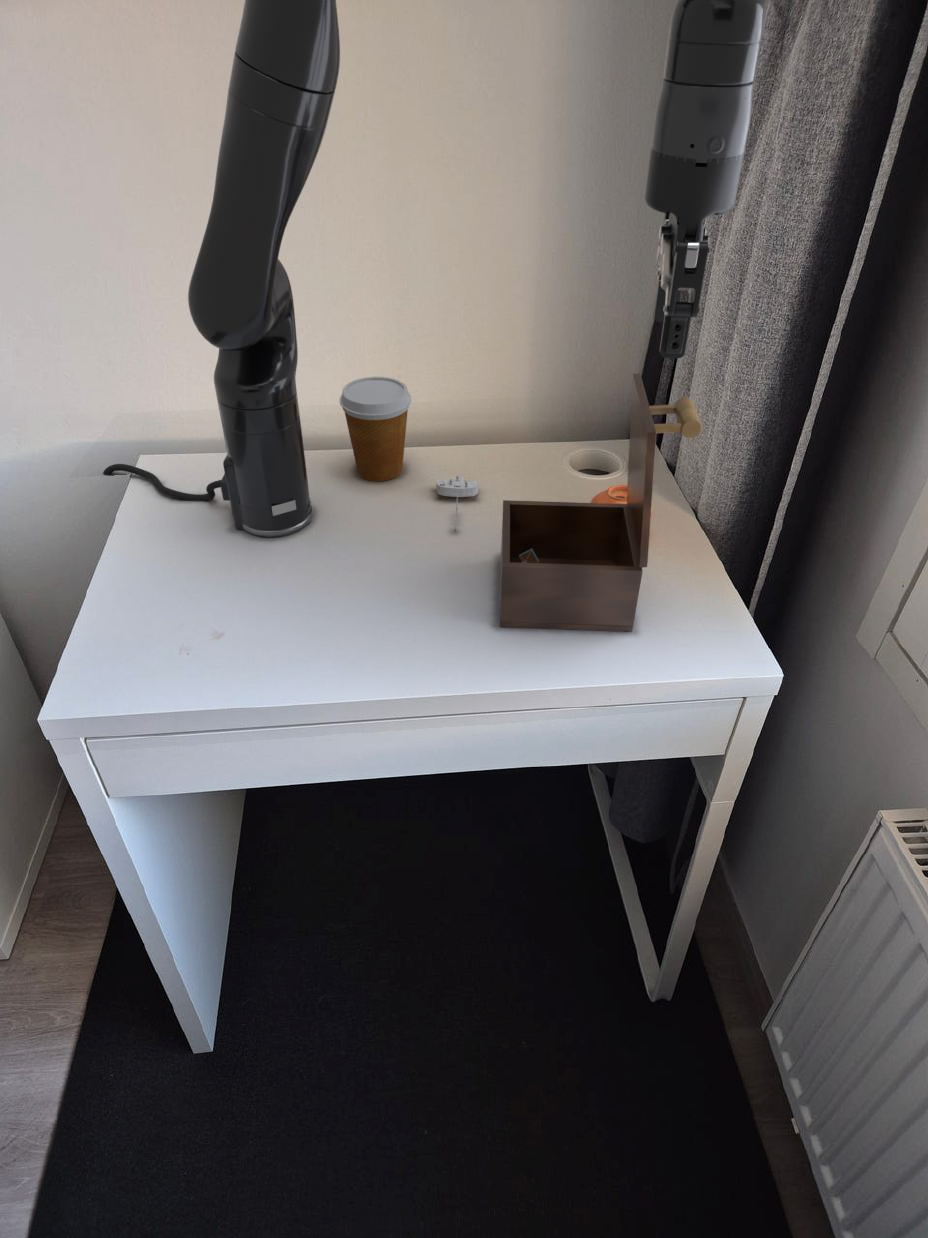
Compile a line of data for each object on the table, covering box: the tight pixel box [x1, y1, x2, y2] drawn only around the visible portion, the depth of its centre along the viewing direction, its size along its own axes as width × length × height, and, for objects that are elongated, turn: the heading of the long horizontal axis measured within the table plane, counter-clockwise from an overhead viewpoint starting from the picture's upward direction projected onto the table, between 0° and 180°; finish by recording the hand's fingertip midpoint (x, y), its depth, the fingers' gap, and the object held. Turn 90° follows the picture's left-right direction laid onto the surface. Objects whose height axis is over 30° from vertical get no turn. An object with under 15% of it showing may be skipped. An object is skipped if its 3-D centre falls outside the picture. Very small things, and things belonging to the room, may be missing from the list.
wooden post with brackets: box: [519, 549, 539, 563], centre depth 99 cm, size 2×8×4 cm
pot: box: [589, 484, 653, 518], centre depth 108 cm, size 8×8×7 cm
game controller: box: [436, 475, 480, 533], centre depth 114 cm, size 6×12×3 cm, turn 15°
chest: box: [498, 499, 644, 632], centre depth 98 cm, size 15×13×8 cm
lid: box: [626, 372, 703, 568], centre depth 90 cm, size 15×13×6 cm
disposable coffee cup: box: [339, 376, 412, 482], centre depth 118 cm, size 10×10×12 cm
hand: (668, 338), depth 81 cm, fingers open, 8 cm apart
